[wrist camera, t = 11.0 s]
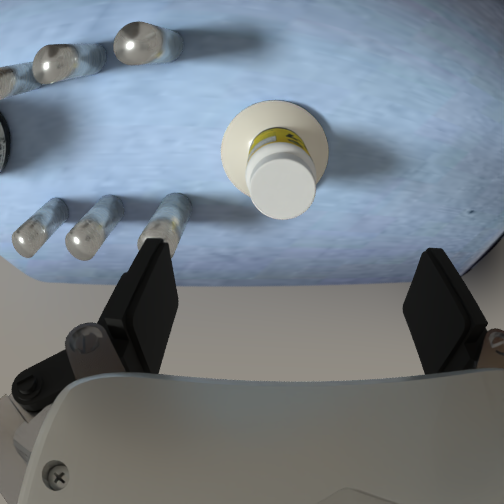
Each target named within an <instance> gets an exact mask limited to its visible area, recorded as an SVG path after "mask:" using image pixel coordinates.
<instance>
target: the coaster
mask: <svg viewBox="0 0 504 504" xmlns="http://www.w3.org/2000/svg"><path fill="white" fill-rule="evenodd" d="M271 127H284V128H288V129H290V130H292V131H294V132H295V133H296V134H298V135H299V136H300V138H301V139H302V140H303V142H304V144H305V146H306V148H307V150H308V152H309V154H310V156H311V158H312V160H313V162H314V165H315V169H316V184H317V183H318V182H319V180H320V179H321V177H322V176H323V173H324V171H325V169H326V166H327V162H328V153H329V149H328V142H327V138H326V135H325V133H324V130H323V129H322V127H321V125H320V124H319V123H318V121H317V120H316V119H315V118H314V117H313V116H312V115H311V114H310V113H309V112H308V111H306V110H305V109H304V108H302V107H300V106H298V105H296V104H293V103H291V102H286V101H280V100H268V101H262V102H258V103H255V104H253V105H251V106H248V107H247V108H245V109H244V110H242V111H241V112H240V113H239V114H237V115H236V116H235V118H234V119H233V120H232V121H231V123H230V124H229V126H228V127H227V129H226V131H225V133H224V136H223V139H222V144H221V160H222V164H223V167H224V170H225V172H226V174H227V176H228V178H229V179H230V181H231V182H232V183H233V184H234V185H235V186H236V188H238V189H239V190H240V191H241V192H243V193H244V194H246V195H247V196H249V197H251V196H250V191H249V189H248V187H247V184H246V178H245V172H246V165H247V160H248V154H249V149H250V145H251V143H252V141H253V139H254V138H255V137H256V136H257V135H258V134H259V133H260V132H261V131H263V130H265V129H268V128H271Z"/></svg>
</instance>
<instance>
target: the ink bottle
mask: <svg viewBox="0 0 504 504" xmlns="http://www.w3.org/2000/svg"><path fill="white" fill-rule="evenodd" d="M9 152H10V134H9V129H8V126H7V123H6V121H5V119H4V118H3V116H2V115H1V113H0V173H1V172H2V171H3V169H4V168H5V166H6V163H7V161H8V157H9Z"/></svg>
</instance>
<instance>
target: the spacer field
mask: <svg viewBox="0 0 504 504" xmlns="http://www.w3.org/2000/svg"><path fill="white" fill-rule="evenodd" d="M113 48H114V53H115V55H116V57H117V59H118V60H119V61H121V62H122V63H124V64H127V65H143V64H160V63H170V62H173V61H174V60H176V59H177V58H178V57H179V56H180V55H181V53H182V51H183V48H184V42H183V39H182V37H181V36H180V35H179V34H178V33H177V32H175V31H172V30H169V29H165V28H162V27H159V26H155V25H152V24H148V23H144V22H132V23H129V24H127V25H126V26H124V27H123V28H122V29H121V30H120V31H119V32H118V33H117V35H116V37H115V40H114V45H113ZM106 61H107V53H106V50H105V49H104V47H103V46H101V45H99V44H54V45H46V46H44V47H43V48H41V49H40V50H39V51H38V53H37V54H36V56H35V58H34V61H33V62H27V63H21V64H16V65H10V66H5V67H0V100H2V99H5V98H8V97H12V96H15V95H18V94H22V93H25V92H28V91H32V90H36V89H38V88H40V87H41V86H42V84H50V83H54V82H58V81H63V80H68V79H73V78H78V77H83V76H89V75H94V74H97V73H99V72H100V71H101V70H102V69H103V68H104V66H105V64H106ZM191 212H192V205H191V202H190V201H189V199H188V198H187V197H186V196H184V195H182V194H179V193H172V194H169V195H167V196H166V197H165V198H164V199H163V201H162V202H161V204H160V205H159V207H158V208H157V210H156V212H155V213H154V215H153V216H152V218H151V219H150V221H149V223H148V224H147V226H146V227H145V229H144V231H143V232H142V234H141V235H140V237H139V239H138V249H139V250H140V249H141V247H142V245H143V243H144V242H145V240H146V239H147V238H162V239H163V240H164V242H167V243H168V244H169V249H170V255H171V258H172V257H173V255H174V253H175V250H176V248H177V245H178V243H179V241H180V238H181V236H182V234H183V231H184V229H185V226H186V224H187V222H188V220H189V217H190V215H191ZM68 215H69V211H68V208H67V206H66V204H65V203H64V202H63V201H62V200H61V199H59V198H52V199H50V200H49V201H48V202H47V203H46V204H45V205H43V206H42V207H41V208H40V209H39V210H38V211H37V212H35V213H34V214H33V215H32V216H31V217H30V218H29V219H28V220H27V221H26V222H24V223H23V224H22V225H21V226H20V227H19V228H18V229H17V230H16V231H15V232H14V233H13V235H12V243H13V246H14V248H15V249H16V251H17V252H18V253H19V254H20V255H22V256H23V257H26V258H31V257H32V256H33V255H34V254H35V253H36V252H37V251H38V250H39V249H40V247H41V246H42V245H43V244H44V243H45V242H46V241H47V240H48V239H49V238H50V237H51V235H52V234H53V233H54V232H55V231H56V230H57V229H58V228H59V227H60V226H61V225H62V224H63V223H64V222H65V221H66V220H67V218H68ZM123 215H124V206H123V203H122V202H121V200H120V199H119V198H117V197H116V196H113V195H105V196H103V197H102V198H101V199H100V200H99V201H98V202H97V203H96V204H95V205H94V206H93V207H92V208H91V209H90V210H89V211H88V212H87V213H86V214H85V215H84V216H83V217H82V219H81V220H80V221H79V222H78V223H77V224H76V225H75V226H74V227H73V228H72V229H71V230H70V232H69V233H68V234H67V235H66V239H65V243H66V247H67V249H68V251H69V252H70V253H71V254H72V255H73V256H74V257H75V258H77V259H79V260H83V261H87V260H90V259H91V258H93V256H94V255H95V253H96V252H97V251H98V249H99V248H100V247H101V245H102V244H103V242H104V241H105V240H106V238H107V237H108V236H109V234H110V233H111V232H112V230H113V229H114V228H115V226H116V225H117V224H118V222H119V221H120V220H121V219H122V217H123Z"/></svg>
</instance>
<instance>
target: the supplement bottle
mask: <svg viewBox="0 0 504 504" xmlns="http://www.w3.org/2000/svg"><path fill="white" fill-rule="evenodd" d="M245 178H246V184H247V187H248V189H249V191H250V196H251V199H252V202H253V204H254V205H255V207H256V208H257V209H258V210H259V211H260V212H261V213H263V214H264V215H266V216H268V217H271V218H274V219H280V220H285V219H291V218H295V217H297V216H299V215H301V214H302V213H304V212H305V211H306V210H307V209H308V208H309V207H310V205H311V204H312V202H313V200H314V197H315V193H316V169H315V165H314V162H313V160H312V158H311V156H310V154H309V152H308V150H307V148H306V146H305V144H304V142H303V140H302V139H301V138H300V136H299V135H298V134H296V133H295V132H294V131H292V130H290V129H288V128H284V127H271V128H268V129H265V130H263V131H261V132H260V133H259V134H258V135H257V136H256V137H255V138H254V139H253V141H252V143H251V145H250V149H249V154H248V160H247V165H246V172H245Z"/></svg>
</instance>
